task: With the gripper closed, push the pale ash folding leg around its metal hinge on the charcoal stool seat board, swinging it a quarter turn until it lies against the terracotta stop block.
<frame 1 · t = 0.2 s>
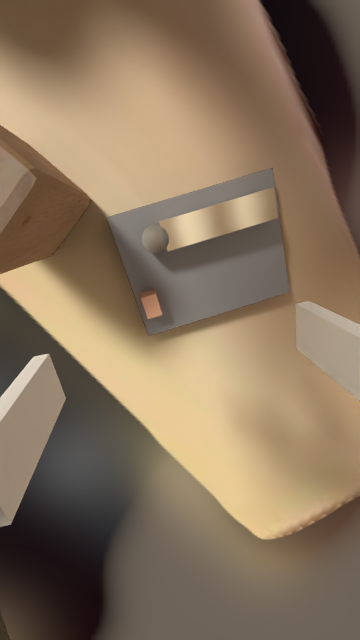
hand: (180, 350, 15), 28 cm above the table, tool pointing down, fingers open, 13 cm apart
folding leg: (206, 223, 34), point 5 cm above the table, hinge at 90.0°
stool seat: (201, 255, 41), on the table
wooden block: (39, 203, 36), on the table
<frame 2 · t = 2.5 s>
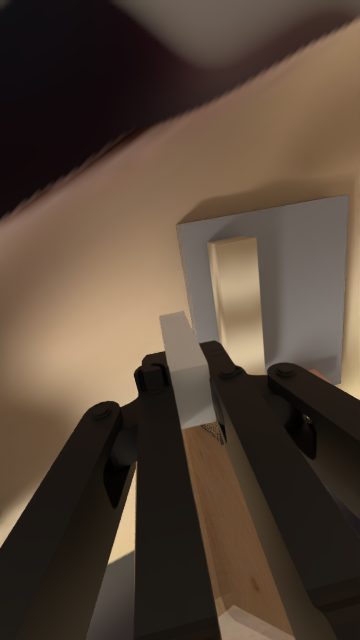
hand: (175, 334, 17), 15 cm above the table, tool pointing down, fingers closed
folding leg: (238, 324, 28), point 5 cm above the table, hinge at 90.0°
stool seat: (260, 308, 33), on the table
wooden block: (183, 451, 39), on the table
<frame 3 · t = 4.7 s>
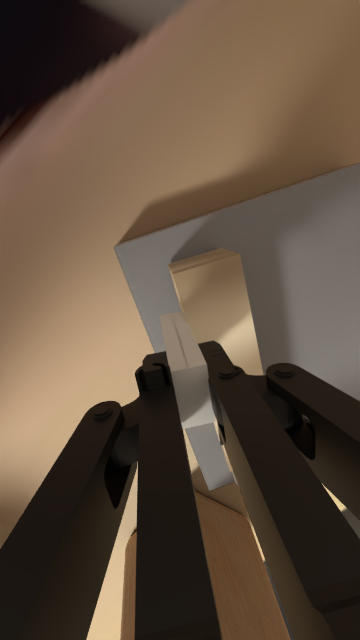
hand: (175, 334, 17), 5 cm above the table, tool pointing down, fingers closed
folding leg: (230, 381, 18), point 5 cm above the table, hinge at 88.0°, touching gripper
stool seat: (262, 339, 23), on the table
wooden block: (187, 524, 30), on the table
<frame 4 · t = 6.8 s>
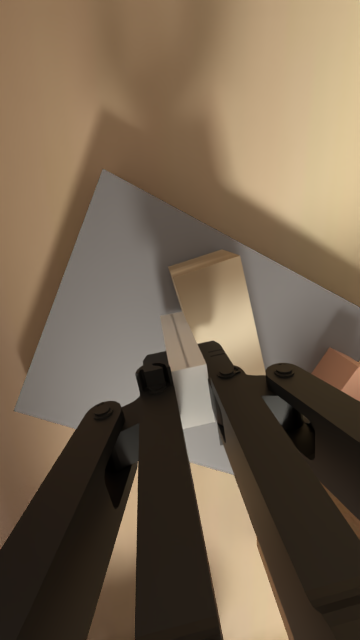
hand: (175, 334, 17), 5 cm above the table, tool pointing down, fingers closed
folding leg: (233, 382, 18), point 5 cm above the table, hinge at 43.1°, touching gripper
stool seat: (198, 347, 23), on the table
wooden block: (295, 501, 31), on the table
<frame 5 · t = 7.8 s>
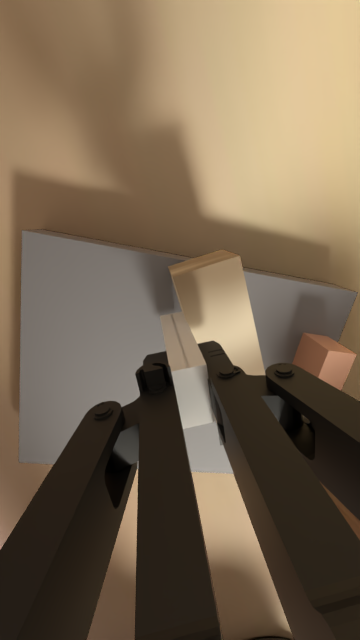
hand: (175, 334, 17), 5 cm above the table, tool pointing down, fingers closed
folding leg: (232, 383, 18), point 5 cm above the table, hinge at 27.6°, touching gripper
stool seat: (177, 361, 23), on the table
wooden block: (325, 482, 30), on the table
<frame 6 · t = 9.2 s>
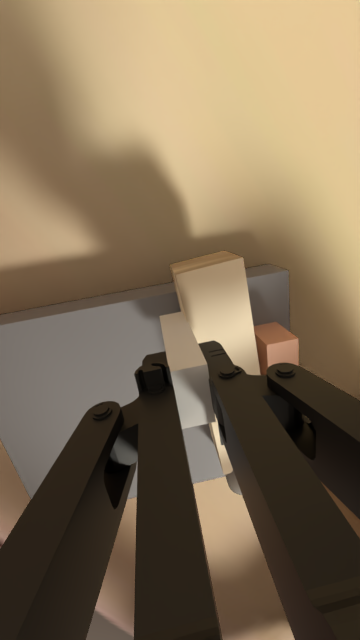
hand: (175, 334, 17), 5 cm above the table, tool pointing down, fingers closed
folding leg: (227, 384, 18), point 5 cm above the table, hinge at 3.9°, touching gripper
stool seat: (150, 386, 23), on the table
wooden block: (350, 446, 29), on the table
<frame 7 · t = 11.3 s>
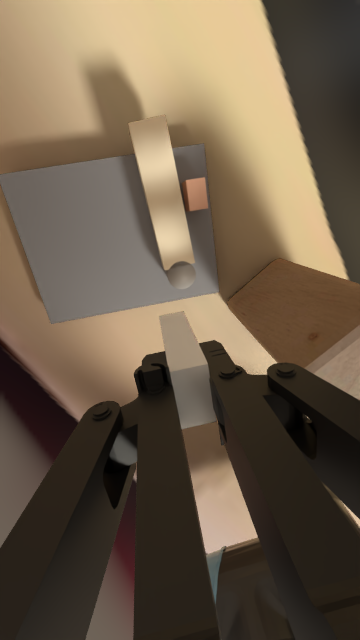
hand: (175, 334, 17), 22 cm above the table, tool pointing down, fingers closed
folding leg: (166, 213, 30), point 5 cm above the table, hinge at 3.9°
stool seat: (123, 238, 35), on the table
wooden block: (267, 301, 41), on the table
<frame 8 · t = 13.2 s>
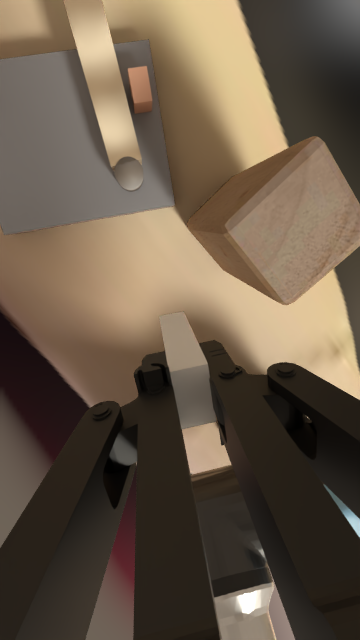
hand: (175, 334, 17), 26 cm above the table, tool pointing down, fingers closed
folding leg: (111, 108, 30), point 5 cm above the table, hinge at 3.9°
stool seat: (77, 150, 35), on the table
wooden block: (229, 226, 41), on the table
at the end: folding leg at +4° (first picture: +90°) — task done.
